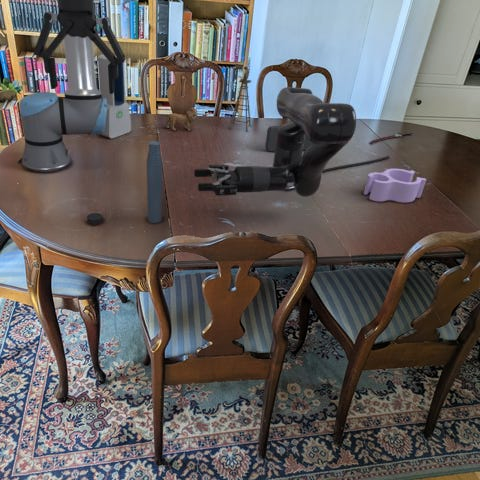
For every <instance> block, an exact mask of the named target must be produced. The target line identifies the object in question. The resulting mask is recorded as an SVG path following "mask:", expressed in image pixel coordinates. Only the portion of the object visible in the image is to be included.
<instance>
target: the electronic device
mask: <svg viewBox="0 0 480 480" xmlns="http://www.w3.org/2000/svg"><path fill="white" fill-rule="evenodd" d="M116 58H117V57H116ZM109 64H110V62H109V61H108V59H107V58H106V57H105V56H104V54H103V53H102V54H99V55H98V56H97V67H98V79H99V80H98V81H99V91H100V92H101V93H102V98H105V99H106V100H107V119H106V128H105V131H104V132H103V133H101V134H99V135H100V136H103V137H104V138H105V137H106V138H109V139H115V138H117V137H120V136H123V135H126V134H129V133H130V132H131V131H132V122H131V112H130V104H129V103H128V102H127V100H126V99H127V98H126V96H127V95H126V75H125V73H126V72H125V61H124V62H123V63H120V64H118V75H119V76H118V78H117V79H114V81H115V92H114V93H113V94H109V77H108V65H109Z"/></svg>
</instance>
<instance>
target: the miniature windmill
mask: <svg viewBox="0 0 480 480" xmlns="http://www.w3.org/2000/svg"><path fill="white" fill-rule="evenodd" d="M249 67H251V58H248V60H247V63H246V66H243V65H241V64H238V63H235V68H234V70H239V71H240V70H241V71H242V70H244V74H243V78H240V79H239V80H238V82H239V83H241V84H240V86H239V91H238V95H237V97H236V102H235V106H234V108H233V112H232V113H231V114H232V117H231V118H230V123H229V126H228V129H231V128H232V124H235V122H237V123H244V124H245V131H246V132H248V125H249V126H250V127H251V126H252V124H251V119H252V117H251V113H250V100H249V98H250V97H249V89H248V88H249V86H248V84H251V83H252V80H251V79H249V76H250V73H251V72H250V71H251V68H249ZM242 90H244V92H245V93H244V94H245V95H243V94H242ZM240 100H244V101H245V104H239V103H240ZM239 106H240V107H245V108H238V107H239ZM238 110H239V111H240V110H241V111H245V116H244V115H239V114H237V112H238ZM236 117H240V118H245V121H243V120H236Z"/></svg>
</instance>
